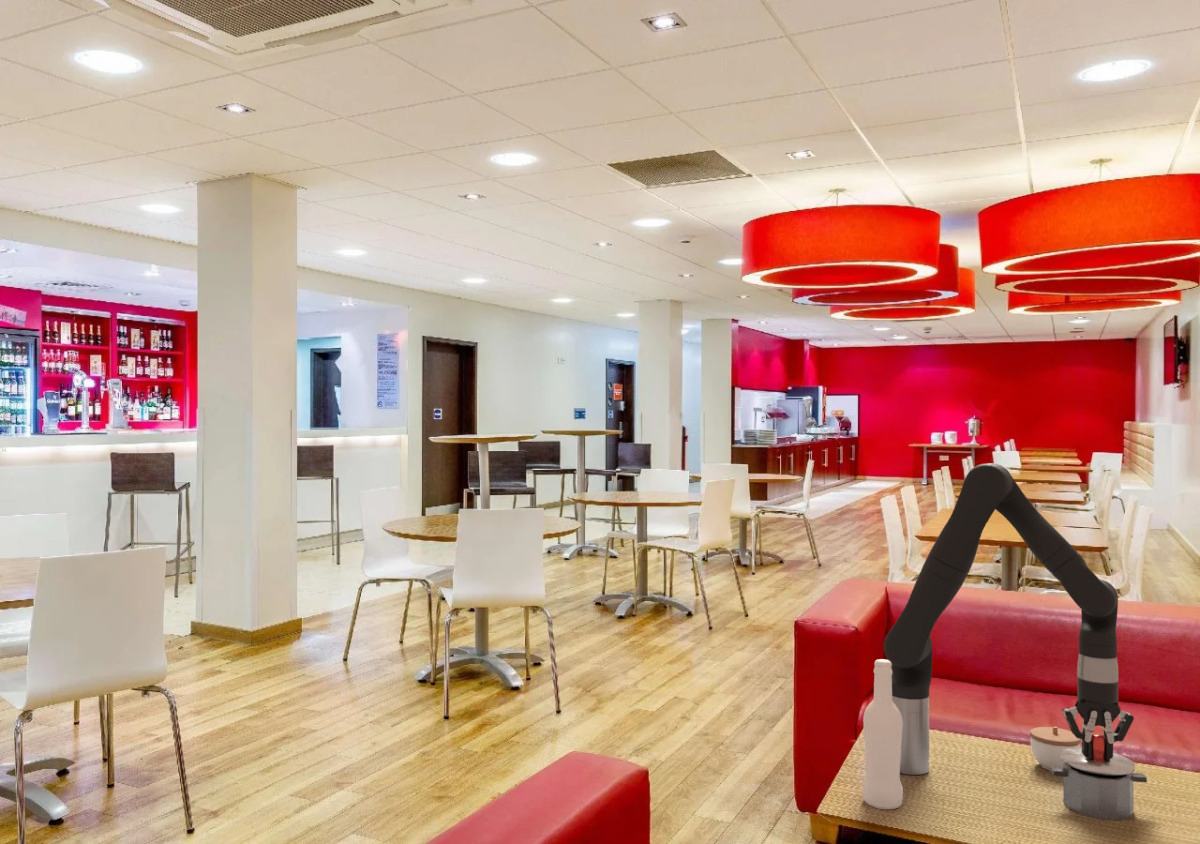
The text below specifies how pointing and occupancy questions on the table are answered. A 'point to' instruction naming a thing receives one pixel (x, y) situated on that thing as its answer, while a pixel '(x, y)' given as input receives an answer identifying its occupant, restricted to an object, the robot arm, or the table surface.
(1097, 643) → the robot arm
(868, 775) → the bottle
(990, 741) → the table surface
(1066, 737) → the lidded jar
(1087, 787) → the pot
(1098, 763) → the lid
